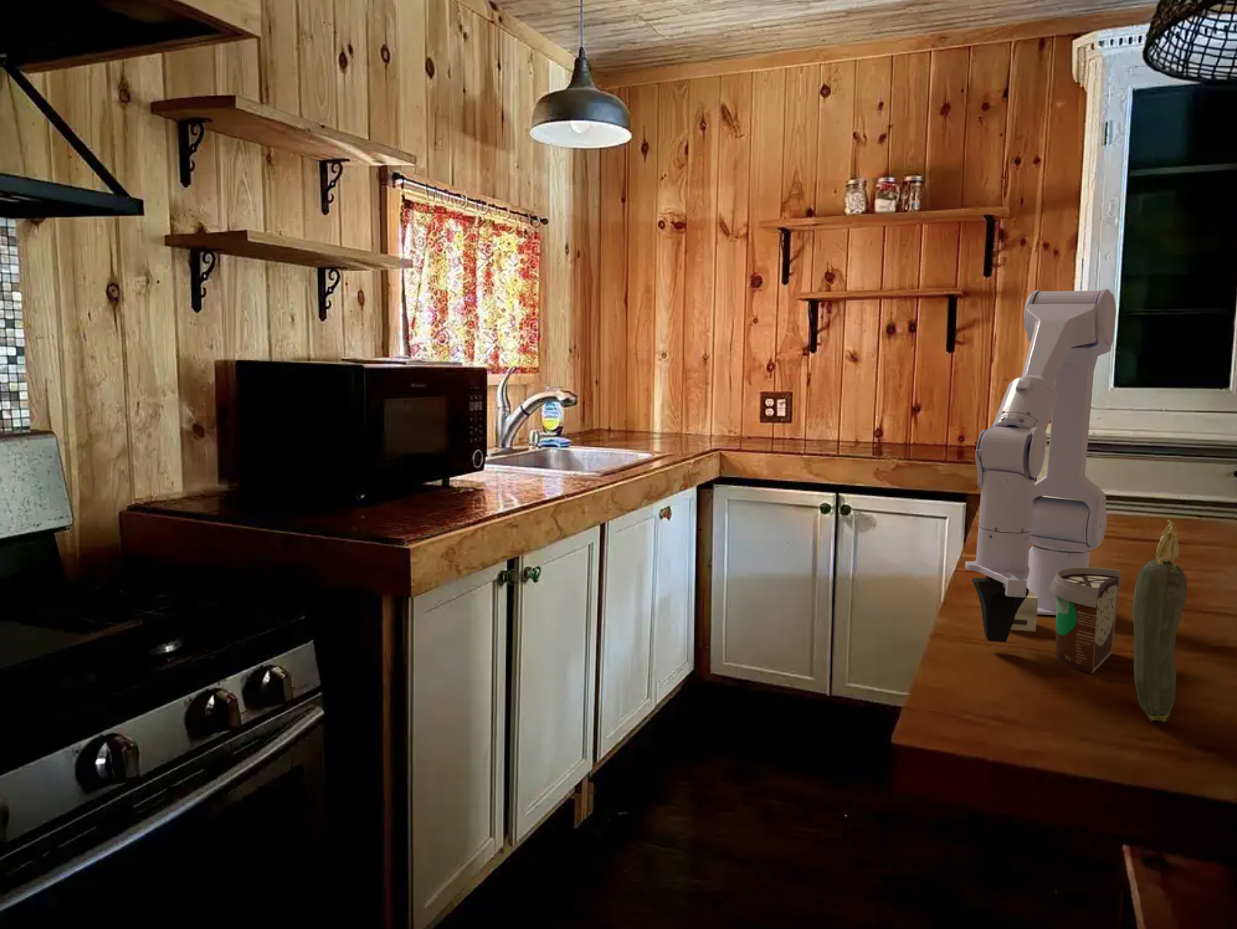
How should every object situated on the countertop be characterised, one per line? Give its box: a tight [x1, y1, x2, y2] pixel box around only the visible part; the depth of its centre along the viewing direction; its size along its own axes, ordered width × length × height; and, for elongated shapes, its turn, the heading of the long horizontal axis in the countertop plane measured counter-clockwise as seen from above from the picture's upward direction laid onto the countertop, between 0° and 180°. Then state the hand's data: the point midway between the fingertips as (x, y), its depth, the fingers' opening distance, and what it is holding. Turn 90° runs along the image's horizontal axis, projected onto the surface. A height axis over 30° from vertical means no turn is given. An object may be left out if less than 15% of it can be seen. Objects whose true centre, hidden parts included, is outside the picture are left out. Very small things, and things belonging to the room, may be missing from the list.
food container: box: [1050, 567, 1122, 674], centre depth 110 cm, size 12×6×10 cm, turn 141°
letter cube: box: [1010, 590, 1038, 632], centre depth 123 cm, size 5×4×4 cm
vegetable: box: [1132, 519, 1188, 723], centre depth 91 cm, size 4×4×20 cm
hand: (995, 640), depth 112 cm, fingers closed
